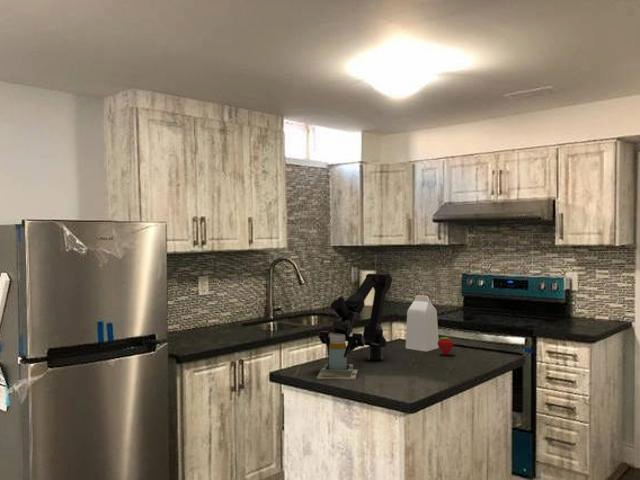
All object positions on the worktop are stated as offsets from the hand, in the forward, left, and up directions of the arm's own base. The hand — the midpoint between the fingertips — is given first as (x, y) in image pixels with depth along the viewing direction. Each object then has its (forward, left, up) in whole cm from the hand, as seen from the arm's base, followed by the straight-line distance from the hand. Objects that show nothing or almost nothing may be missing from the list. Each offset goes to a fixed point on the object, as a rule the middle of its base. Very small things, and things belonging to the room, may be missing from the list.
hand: (336, 356), depth 229 cm
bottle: (-1, 0, -7) cm, 7 cm away
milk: (-59, +36, -8) cm, 70 cm away
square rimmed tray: (-1, 0, -8) cm, 8 cm away
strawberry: (-43, +46, -8) cm, 64 cm away
